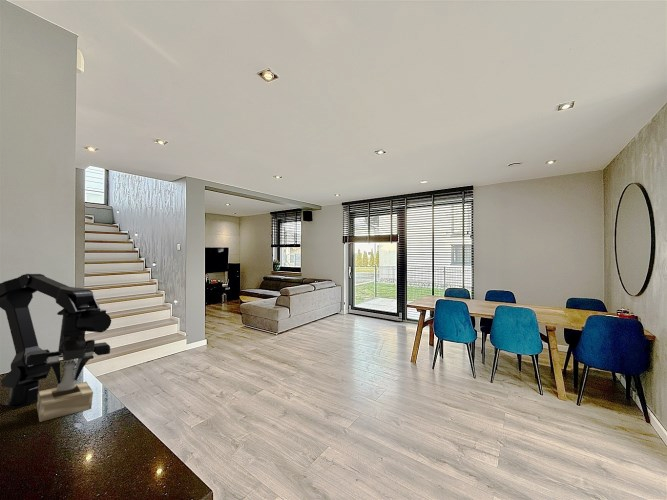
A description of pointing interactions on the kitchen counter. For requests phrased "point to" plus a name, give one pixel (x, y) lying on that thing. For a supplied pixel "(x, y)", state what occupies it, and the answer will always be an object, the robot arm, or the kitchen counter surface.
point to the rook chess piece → (67, 377)
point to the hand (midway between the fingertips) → (67, 381)
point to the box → (63, 401)
